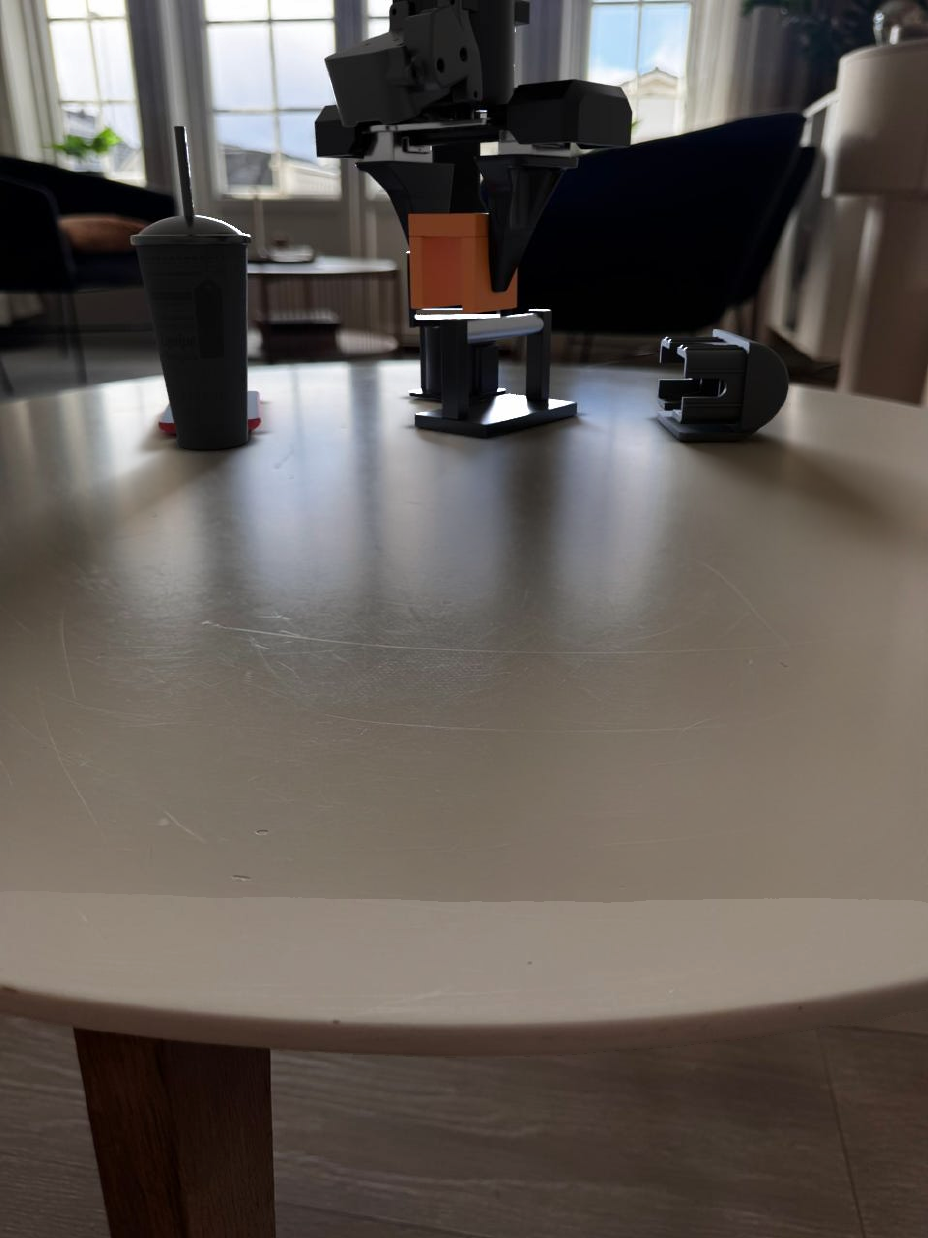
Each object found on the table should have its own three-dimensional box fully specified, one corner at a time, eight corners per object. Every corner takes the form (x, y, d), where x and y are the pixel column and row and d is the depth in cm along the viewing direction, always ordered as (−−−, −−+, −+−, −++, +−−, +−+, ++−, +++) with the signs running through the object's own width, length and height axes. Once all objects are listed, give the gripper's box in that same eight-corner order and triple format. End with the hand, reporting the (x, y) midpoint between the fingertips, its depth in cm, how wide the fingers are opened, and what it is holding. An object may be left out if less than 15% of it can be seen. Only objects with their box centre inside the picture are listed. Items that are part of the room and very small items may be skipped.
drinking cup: (287, 435, 68) (263, 129, 60) (231, 457, 61) (196, 116, 54) (198, 429, 70) (164, 134, 63) (135, 450, 64) (88, 122, 56)
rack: (414, 427, 71) (411, 317, 68) (508, 405, 79) (509, 307, 76) (486, 438, 67) (486, 322, 64) (577, 414, 75) (581, 311, 72)
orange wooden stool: (410, 308, 55) (407, 213, 53) (453, 303, 58) (452, 213, 56) (475, 313, 53) (475, 213, 50) (517, 307, 55) (518, 212, 53)
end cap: (782, 442, 64) (795, 342, 62) (681, 443, 64) (689, 342, 62) (743, 417, 74) (753, 328, 71) (654, 417, 74) (660, 328, 71)
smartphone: (259, 390, 82) (260, 418, 68) (260, 400, 82) (261, 430, 69) (173, 393, 81) (157, 423, 67) (174, 403, 81) (158, 435, 67)
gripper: (227, -23, 49) (256, 292, 55) (511, -93, 38) (507, 309, 44) (376, 9, 56) (386, 281, 63) (647, -41, 45) (627, 294, 52)
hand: (463, 290), depth 55 cm, fingers closed on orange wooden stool, 5 cm apart
